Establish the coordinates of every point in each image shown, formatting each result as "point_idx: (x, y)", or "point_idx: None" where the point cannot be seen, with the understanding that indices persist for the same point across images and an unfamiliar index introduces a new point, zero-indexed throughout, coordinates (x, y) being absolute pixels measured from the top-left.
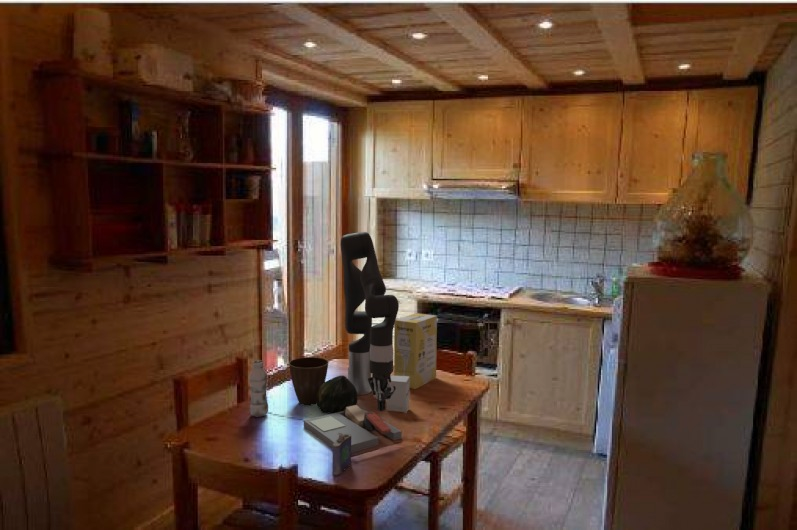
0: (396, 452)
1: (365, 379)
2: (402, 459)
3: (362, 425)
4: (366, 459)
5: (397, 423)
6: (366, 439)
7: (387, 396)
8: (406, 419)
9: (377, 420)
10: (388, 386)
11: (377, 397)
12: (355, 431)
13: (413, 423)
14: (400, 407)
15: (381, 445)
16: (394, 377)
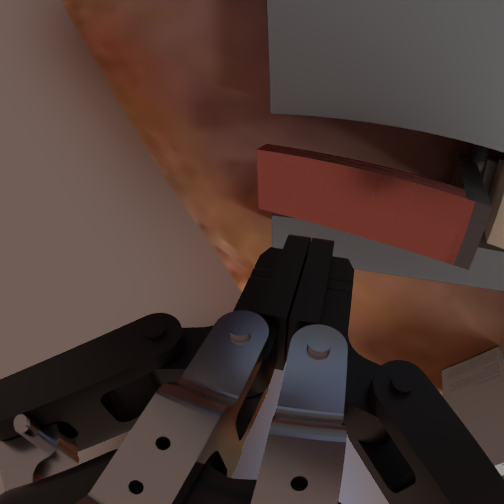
0: (213, 149)
1: None
2: (151, 133)
3: (496, 187)
4: (220, 4)
5: (428, 324)
6: (287, 42)
7: (150, 377)
8: (422, 356)
9: (370, 208)
10: (16, 455)
11: (303, 343)
12: (438, 68)
13: (383, 351)
14: (459, 386)
15: (313, 140)
16: (499, 472)
